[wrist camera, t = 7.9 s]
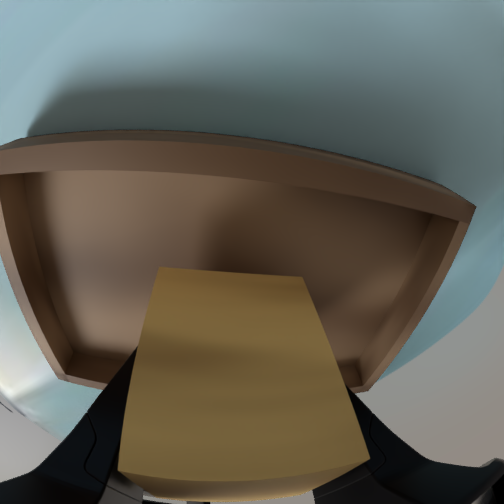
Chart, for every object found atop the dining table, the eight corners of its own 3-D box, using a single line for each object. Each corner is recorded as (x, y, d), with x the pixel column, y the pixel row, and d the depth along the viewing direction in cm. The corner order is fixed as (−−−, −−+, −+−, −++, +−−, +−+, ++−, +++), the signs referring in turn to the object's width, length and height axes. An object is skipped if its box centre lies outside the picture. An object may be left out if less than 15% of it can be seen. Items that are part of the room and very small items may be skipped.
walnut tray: (355, 361, 16) (368, 390, 14) (70, 347, 13) (58, 379, 11) (441, 184, 10) (476, 206, 8) (20, 138, 7) (-19, 153, 5)
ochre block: (273, 361, 11) (300, 494, 6) (166, 356, 10) (156, 497, 5) (302, 277, 9) (370, 458, 4) (159, 266, 8) (117, 470, 3)
